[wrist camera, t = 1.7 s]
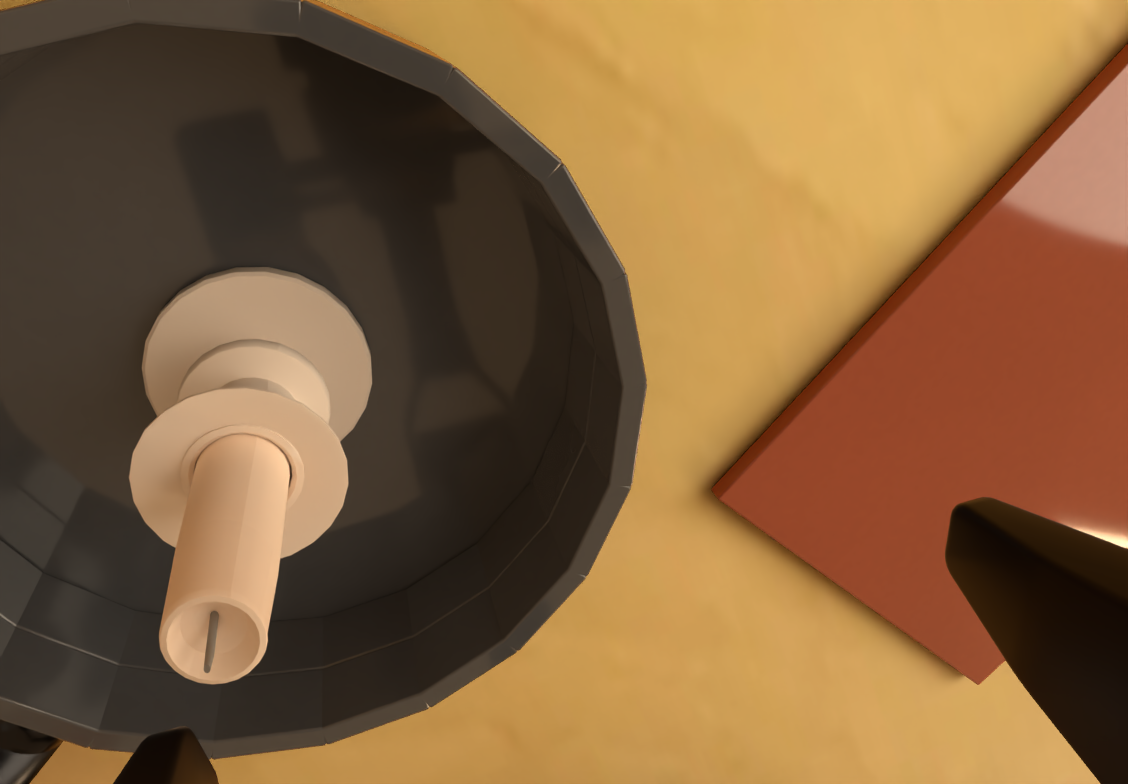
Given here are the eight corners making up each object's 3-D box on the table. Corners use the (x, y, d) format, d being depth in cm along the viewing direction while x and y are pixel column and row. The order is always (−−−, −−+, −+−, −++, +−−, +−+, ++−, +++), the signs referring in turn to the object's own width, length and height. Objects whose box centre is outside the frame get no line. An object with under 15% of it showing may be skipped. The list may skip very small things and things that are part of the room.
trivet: (968, 675, 33) (978, 686, 33) (709, 489, 26) (717, 499, 25) (1379, 290, 30) (1399, 296, 29) (1213, -51, 22) (1235, -52, 22)
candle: (98, 318, 19) (-113, 620, 10) (313, 230, 19) (297, 446, 10) (217, 491, 22) (135, 858, 12) (404, 411, 22) (458, 711, 13)
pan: (347, 707, 26) (350, 835, 22) (-295, 445, 18) (-465, 570, 14) (709, 296, 23) (787, 361, 19) (121, -222, 15) (50, -293, 11)
